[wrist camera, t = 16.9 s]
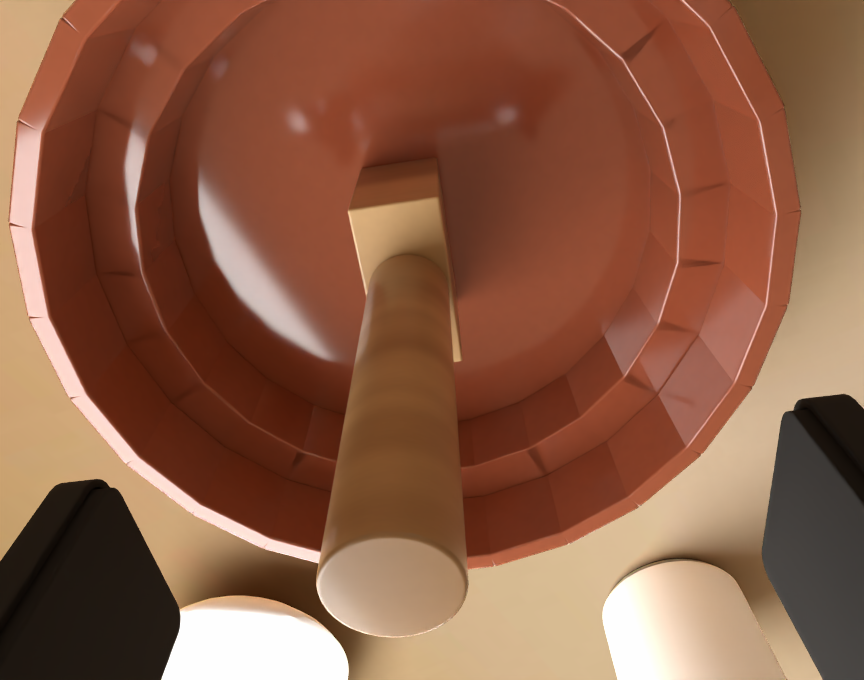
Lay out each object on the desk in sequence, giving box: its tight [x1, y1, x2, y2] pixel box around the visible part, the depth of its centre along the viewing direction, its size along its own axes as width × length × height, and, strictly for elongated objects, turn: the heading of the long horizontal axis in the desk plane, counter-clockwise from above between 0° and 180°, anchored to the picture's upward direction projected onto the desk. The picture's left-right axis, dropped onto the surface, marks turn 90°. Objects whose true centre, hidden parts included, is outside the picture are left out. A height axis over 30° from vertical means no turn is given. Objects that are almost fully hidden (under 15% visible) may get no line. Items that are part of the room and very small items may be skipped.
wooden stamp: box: [316, 158, 469, 637], centre depth 16 cm, size 5×2×14 cm, turn 8°
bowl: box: [8, 0, 801, 569], centre depth 19 cm, size 19×19×6 cm
